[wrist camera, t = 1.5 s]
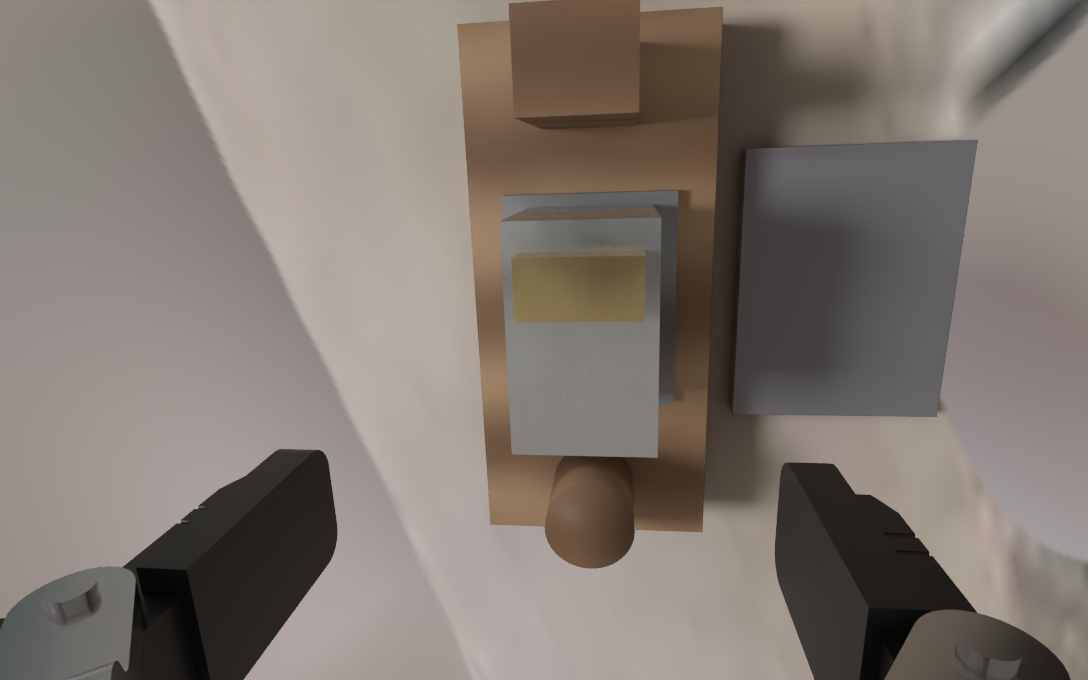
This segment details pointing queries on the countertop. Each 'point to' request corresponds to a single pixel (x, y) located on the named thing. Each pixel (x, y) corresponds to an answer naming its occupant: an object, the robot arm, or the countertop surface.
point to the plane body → (598, 180)
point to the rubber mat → (847, 277)
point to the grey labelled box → (583, 329)
